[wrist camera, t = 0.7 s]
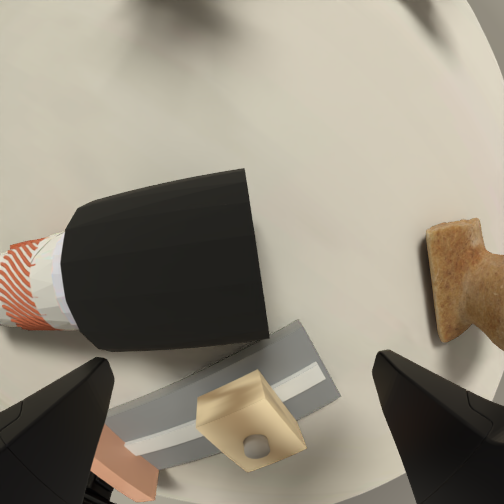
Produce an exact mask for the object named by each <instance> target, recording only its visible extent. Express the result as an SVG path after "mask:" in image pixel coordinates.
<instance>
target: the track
mask: <svg viewBox="0 0 504 504" xmlns="http://www.w3.org/2000/svg"><path fill="white" fill-rule="evenodd" d="M269 337H270V339H264V340H260V341H259V342H257V343H255V344H253V345H251V346H249V347H247V348H245V349H243V350H242V351H240V352H238V353H236V354H234V355H232V356H230V357H228V358H226V359H224V360H222V361H220V362H218V363H216V364H214V365H212V366H210V367H208V368H206V369H203V370H201V371H199V372H197V373H195V374H193V375H191V376H189V377H186V378H184V379H182V380H180V381H178V382H175V383H173V384H171V385H169V386H166V387H164V388H162V389H159V390H157V391H155V392H152V393H150V394H147V395H145V396H143V397H140V398H138V399H135V400H133V401H130V402H128V403H125V404H122V405H120V406H117V407H114V408H112V409H109V410H108V413H107V417H106V420H105V424H104V427H103V430H102V433H101V436H100V439H99V443H98V446H97V449H96V453H95V456H94V460H93V463H92V467H91V470H90V471H92V472H93V473H94V474H96V475H97V476H98V477H100V478H101V479H102V480H104V481H105V482H106V483H108V484H109V485H111V486H112V487H113V488H115V489H117V490H118V491H119V492H121V493H122V494H124V495H125V496H127V497H129V498H130V499H132V500H133V501H135V502H145V501H154V500H155V496H156V488H157V481H158V474H159V470H161V469H165V468H169V467H173V466H177V465H181V464H185V463H188V462H192V461H195V460H199V459H202V458H205V457H208V456H212V455H215V454H218V453H221V451H220V450H219V449H218V448H217V447H216V446H215V445H213V444H212V443H211V442H210V441H209V440H208V439H207V438H206V437H205V436H203V435H202V434H201V433H200V432H199V431H198V430H197V429H196V413H197V398H198V397H199V396H202V395H204V394H206V393H208V392H211V391H213V390H215V389H217V388H220V387H222V386H224V385H226V384H228V383H230V382H232V381H234V380H237V379H239V378H241V377H243V376H245V375H247V374H249V373H251V372H253V371H255V370H257V369H258V370H259V371H260V373H261V374H262V375H263V377H264V378H265V380H266V381H267V382H268V384H269V385H270V386H271V388H272V389H273V390H274V392H275V393H276V394H277V396H278V397H279V398H280V400H281V401H282V402H283V404H284V405H285V406H286V408H287V409H288V410H289V412H290V413H291V414H292V415H293V417H294V418H295V419H296V421H297V420H299V419H301V418H303V417H305V416H307V415H309V414H311V413H313V412H315V411H316V410H318V409H320V408H322V407H324V406H326V405H327V404H329V403H331V402H333V401H334V400H336V399H338V398H339V397H341V395H340V393H339V391H338V390H337V388H336V386H335V384H334V382H333V380H332V378H331V377H330V375H329V373H328V371H327V369H326V367H325V365H324V364H323V362H322V360H321V358H320V356H319V354H318V353H317V351H316V349H315V347H314V345H313V343H312V342H311V340H310V338H309V336H308V334H307V332H306V331H305V329H304V327H303V325H302V324H301V322H300V321H299V319H298V320H296V321H294V322H293V323H291V324H289V325H287V326H286V327H284V328H282V329H280V330H279V331H277V332H275V333H273V334H271V335H270V336H269Z"/></svg>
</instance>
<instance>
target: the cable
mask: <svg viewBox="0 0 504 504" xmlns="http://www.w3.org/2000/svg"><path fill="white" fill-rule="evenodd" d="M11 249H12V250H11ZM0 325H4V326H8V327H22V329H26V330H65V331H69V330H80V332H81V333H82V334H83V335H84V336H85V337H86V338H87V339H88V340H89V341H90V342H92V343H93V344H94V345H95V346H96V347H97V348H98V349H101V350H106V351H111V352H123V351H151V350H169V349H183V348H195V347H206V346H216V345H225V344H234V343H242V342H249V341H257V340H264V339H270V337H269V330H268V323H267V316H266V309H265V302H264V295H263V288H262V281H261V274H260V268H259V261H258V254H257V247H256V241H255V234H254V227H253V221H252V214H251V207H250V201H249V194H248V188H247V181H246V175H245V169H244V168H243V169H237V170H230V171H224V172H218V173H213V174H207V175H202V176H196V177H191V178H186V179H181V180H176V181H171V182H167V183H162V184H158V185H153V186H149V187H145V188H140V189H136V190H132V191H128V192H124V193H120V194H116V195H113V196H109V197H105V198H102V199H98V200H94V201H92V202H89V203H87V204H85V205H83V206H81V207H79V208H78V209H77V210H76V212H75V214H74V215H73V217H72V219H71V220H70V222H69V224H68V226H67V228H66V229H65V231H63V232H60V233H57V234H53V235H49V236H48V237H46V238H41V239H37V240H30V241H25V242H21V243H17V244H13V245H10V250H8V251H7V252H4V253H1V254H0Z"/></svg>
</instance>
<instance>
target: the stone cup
mask: <svg viewBox="0 0 504 504" xmlns="http://www.w3.org/2000/svg"><path fill="white" fill-rule="evenodd" d="M426 241H427V250H428V258H429V266H430V273H431V281H432V289H433V298H434V307H435V315H436V322H437V331H438V334H439V338H440V340H441V341H442V342H449V341H451V340H453V339H454V338H456V337H458V336H459V335H461V334H462V333H463V332H464V331H466V330H467V329H468V328H469V327H470V326H471V324H472V323H473V324H474V325H476V326H477V327H478V328H479V329H481V330H482V331H483V332H484V333H485V334H486V335H487V336H488V337H489V339H490V340H491V341H492V342H493V343H494V344H495V345H496V346H498V347H499V348H500V349H502V350H503V351H504V255H498V254H492V253H490V252H489V251H487V250H486V249H485V246H484V241H483V237H482V231H481V224H480V220H479V219H478V218H473V219H471V220H460V221H455V222H448V223H446V222H444V223H441V224H438V225H436V226H432V227H431V228H430V229H428V230H427V231H426Z"/></svg>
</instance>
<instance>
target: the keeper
mask: <svg viewBox="0 0 504 504" xmlns="http://www.w3.org/2000/svg"><path fill="white" fill-rule="evenodd" d="M196 429H197V430H198V431H199V432H200V433H201V434H202V435H203V436H205V437H206V438H207V439H208V440H209V441H210V442H211V443H212V444H213V445H215V446H216V447H217V448H218V449H219V450H220V451H221V452H223V453H224V454H225V455H226V456H227V457H229V458H230V459H231V460H232V461H233V462H235V463H236V464H237V465H238V466H240V467H241V468H242V469H244V470H245V471H246V472H247V473H248V472H251V471H254V470H257V469H259V468H262V467H265V466H267V465H270V464H272V463H275V462H277V461H280V460H282V459H285V458H287V457H289V456H292V455H294V454H296V453H298V452H301V451H303V450H305V449H307V447H306V444H305V442H304V439H303V436H302V434H301V431H300V429H299V426H298V423H297V421H296V419H295V418H294V417H293V415H292V414H291V413H290V412H289V410H288V409H287V408H286V406H285V405H284V404H283V402H282V401H281V400H280V398H279V397H278V396H277V394H276V393H275V392H274V390H273V389H272V388H271V386H270V385H269V384H268V382H267V381H266V380H265V378H264V377H263V375H262V374H261V373H260V371H259V370H258V369H257V370H255V371H253V372H251V373H249V374H247V375H245V376H243V377H241V378H239V379H237V380H234V381H232V382H230V383H228V384H226V385H224V386H222V387H220V388H217V389H215V390H213V391H211V392H208V393H206V394H204V395H202V396H199V397H198V398H197V413H196Z"/></svg>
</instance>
